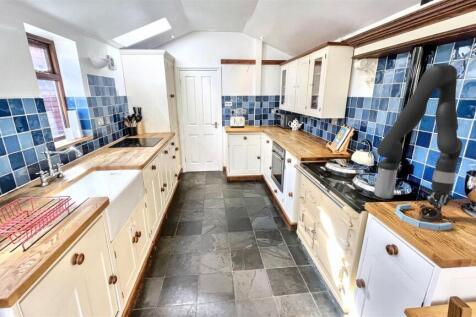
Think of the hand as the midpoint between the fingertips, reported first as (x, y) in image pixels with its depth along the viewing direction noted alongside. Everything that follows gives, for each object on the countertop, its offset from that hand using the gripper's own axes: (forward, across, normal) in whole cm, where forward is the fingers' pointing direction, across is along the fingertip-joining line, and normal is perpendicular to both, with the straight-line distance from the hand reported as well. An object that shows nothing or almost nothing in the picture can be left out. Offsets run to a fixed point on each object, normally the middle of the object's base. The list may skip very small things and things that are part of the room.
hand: (436, 213), depth 109 cm
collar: (+2, +12, 0) cm, 12 cm away
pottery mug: (+2, +7, +2) cm, 7 cm away
